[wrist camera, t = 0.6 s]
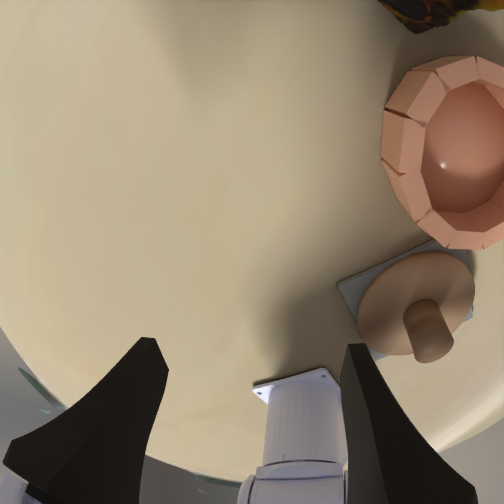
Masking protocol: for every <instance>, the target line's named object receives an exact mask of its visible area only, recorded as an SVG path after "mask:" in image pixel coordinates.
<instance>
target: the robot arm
mask: <svg viewBox="0 0 504 504" xmlns="http://www.w3.org/2000/svg"><path fill="white" fill-rule="evenodd" d="M168 372H169V369H168V367H167V364H166V362H165V360H164V358H163V356H162V353H161V351H160V349H159V346H158V344H157V342H156V339H155V338H147V337H141V338H140V339H139V340H138V341H137V342H136V343H135V344H134V345H133V347H132V348H131V349H130V350H129V351H128V352H127V353H126V354H125V355H124V356H123V357H122V359H121V360H120V361H119V362H118V363H117V364H116V365H115V366H114V367H113V368H112V369H111V370H110V371H109V372H108V373H107V375H106V376H105V377H104V378H103V379H102V380H101V381H100V382H99V383H98V384H97V385H95V386H94V387H93V388H92V389H91V390H90V391H89V392H88V393H87V394H86V395H85V396H84V397H83V398H81V399H80V400H79V401H78V402H77V403H75V404H74V405H73V406H72V407H70V408H69V409H68V410H66V411H65V412H63V413H62V414H61V415H59V416H58V417H56V418H55V419H53V420H52V421H50V422H48V423H47V424H45V425H43V426H42V427H40V428H38V429H36V430H34V431H32V432H30V433H28V434H26V435H24V436H21V437H19V438H17V439H14V440H12V441H11V444H10V446H9V448H8V450H7V453H6V455H5V457H4V459H3V464H4V465H5V466H6V467H8V468H9V469H10V470H12V471H13V472H15V473H16V474H18V475H19V476H21V477H22V478H23V479H25V480H27V481H28V482H29V483H27V482H25V481H24V480H22V479H21V478H19V477H18V476H16V475H15V474H13V473H11V472H10V471H8V470H7V471H6V473H5V475H4V478H3V480H2V483H1V486H0V504H139V491H140V481H141V474H142V467H143V461H144V456H145V451H146V446H147V442H148V439H149V435H150V432H151V429H152V426H153V424H154V421H155V418H156V415H157V412H158V409H159V406H160V403H161V400H162V397H163V394H164V391H165V387H166V382H167V377H168ZM340 387H341V388H340ZM340 387H339V385H338V384H337V383H336V381H335V380H334V379H333V377H332V376H331V375H330V373H329V372H328V371H327V369H325V368H319V369H316V370H312V371H309V372H306V373H302V374H299V375H295V376H292V377H288V378H284V379H281V380H277V381H273V382H269V383H265V384H261V385H257V386H253V387H252V391H253V392H254V393H255V394H256V395H257V396H258V397H260V398H261V399H262V400H263V401H264V402H265V403H267V404H268V410H267V422H266V433H265V443H264V453H263V463H262V467H257V470H256V475H250V476H249V477H248V478H247V479H246V480H245V481H244V482H243V483H242V485H241V488H240V491H239V494H238V500H237V504H478V499H477V494H476V490H475V487H474V486H473V485H472V484H470V483H469V482H468V481H467V480H465V479H464V478H463V477H462V476H461V475H459V474H458V473H457V472H456V471H455V470H454V469H453V468H452V467H451V466H449V465H448V464H447V463H446V462H445V461H444V460H443V459H442V458H441V457H440V456H439V454H438V453H437V452H436V451H435V450H434V449H433V448H432V447H431V446H430V445H429V444H428V443H427V441H426V440H425V439H424V438H423V437H422V435H421V434H420V433H419V432H418V430H417V429H416V428H415V426H414V425H413V424H412V422H411V421H410V420H409V418H408V417H407V415H406V414H405V413H404V411H403V410H402V408H401V407H400V405H399V404H398V402H397V400H396V399H395V397H394V396H393V394H392V392H391V391H390V389H389V387H388V386H387V384H386V382H385V380H384V379H383V377H382V375H381V373H380V371H379V370H378V368H377V366H376V364H375V362H374V360H373V358H372V356H371V354H370V352H369V350H368V348H367V346H366V344H364V343H360V344H348V346H347V350H346V354H345V359H344V363H343V367H342V371H341V375H340ZM347 458H348V470H345V471H344V480H343V467H344V465H345V463H346V461H347Z"/></svg>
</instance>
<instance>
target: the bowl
mask: <svg viewBox="0 0 504 504" xmlns="http://www.w3.org/2000/svg"><path fill="white" fill-rule="evenodd" d="M385 107H386V108H387V109H389V110H390V111H385V110H383V126H382V139H381V151H380V156H381V157H382V158H383V159H381V161H382V164H383V166H384V169H385V171H386V173H387V176H388V178H389V181H390V183H391V186H392V188H393V191H394V193H395V196H396V198H397V200H398V201H399V202H400V204H401V205H402V206H403V207H404V209H405V210H406V211H407V212H408V214H409V215H410V216H411V218H412V219H413V220H414V222H415V223H416V224H417V225H418V226H419V227H420V228H422V229H423V230H424V231H426V232H427V233H428V234H429V235H430V236H432V237H433V238H434V239H435V240H437V241H438V242H439V243H440V244H441V245H443V246H444V247H447V248H448V249H469V250H481V248H483V249H485V248H487V247H488V246H490V245H492V244H494V243H495V242H497V241H499V240H501V239H502V238H504V67H502V66H500V65H497V64H495V63H493V62H491V61H488V60H486V59H483V58H481V57H478V56H444V57H442V58H439V59H436V60H433V61H430V62H428V63H425V64H422V65H419V66H417V67H414V68H412V69H411V71H407V73H406V74H405V76H404V78H403V79H402V81H401V82H400V84H399V85H398V87H397V88H396V90H395V91H394V93H393V95H392V96H391V98H390V99H389V101H388V102H387V104H386V105H385Z"/></svg>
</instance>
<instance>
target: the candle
mask: <svg viewBox="0 0 504 504" xmlns="http://www.w3.org/2000/svg"><path fill="white" fill-rule="evenodd" d="M378 1H379V2H380V3H381V4H382V5H383V6H385V7H386V8H387V9H388V10H390V11H391V12H392V13H393V14H394V16H395V17H396V18H397V19H398V20H399V21H400V22H402V23H403V24H404V25H405V26H406V27H407V28H408V29H410V30H412V31H413V32H414V33H416V34H417V33H422V32H423V31H428V30H429V29H432V28H433V27H435V26H436V27H438V26H446V25H448V24H449V23H450V22H451V21H453V20H454V19H456V18H457V17H459V16H460V15H461V14H463V13H465V12H466V11H467V10H476V9H484V10H488V11H495V10H500V9H504V0H378Z"/></svg>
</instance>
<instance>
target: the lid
mask: <svg viewBox="0 0 504 504" xmlns="http://www.w3.org/2000/svg"><path fill="white" fill-rule="evenodd" d="M474 295H475V284H474V280H473V277H472V275H471V273H470V271H469V270H468V268H467V267H466V266H465V264H464V263H463V262H462V261H461V260H460V259H459V258H458V257H456V256H455V255H453V254H451V253H448V252H444V251H437V250H432V251H423V252H418V253H414V254H411V255H408V256H406V257H404V258H401V259H400V260H398V261H396V262H394V263H392V264H391V265H389V266H388V267H386V268H385V269H384V270H383V271H381V272H380V273H379V274H378V275H377V276H376V277H375V278H374V279H373V280H372V281H371V283H370V284H369V285H368V286H367V288H366V289H365V291H364V292H363V294H362V296H361V298H360V301H359V304H358V308H357V323H358V328H359V333H360V335H361V338H362V340H363V341H364V343H365V344H366V345H367V346H368V347H370V348H371V349H372V350H374V351H376V352H379V353H382V354H386V355H408V354H413V353H414V356H415V359H416V360H417V361H418V362H420V363H430V362H433V361H436V360H438V359H440V358H442V357H443V356H444V355H446V354H447V353H448V352H449V351H450V349H451V348H452V346H453V343H454V340H453V337H452V335H451V334H452V333H453V332H454V331H455V330H456V329H457V328H458V327H459V326H460V324H461V323H462V322H463V321H464V319H465V318H466V316H467V314H468V313H469V311H470V309H471V306H472V304H473V300H474Z"/></svg>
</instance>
